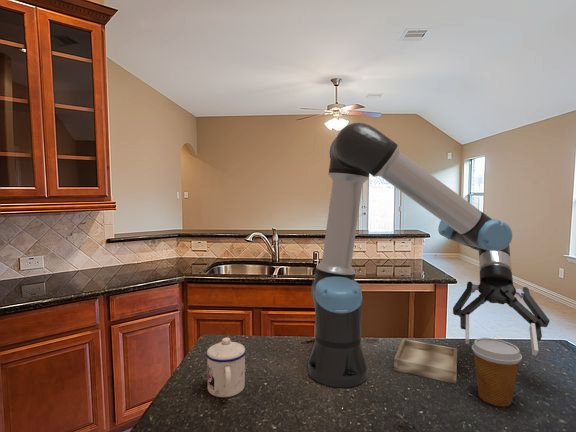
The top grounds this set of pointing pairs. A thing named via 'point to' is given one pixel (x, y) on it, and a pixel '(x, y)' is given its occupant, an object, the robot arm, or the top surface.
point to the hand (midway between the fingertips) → (500, 347)
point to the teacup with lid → (226, 368)
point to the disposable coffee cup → (496, 370)
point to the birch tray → (427, 360)
